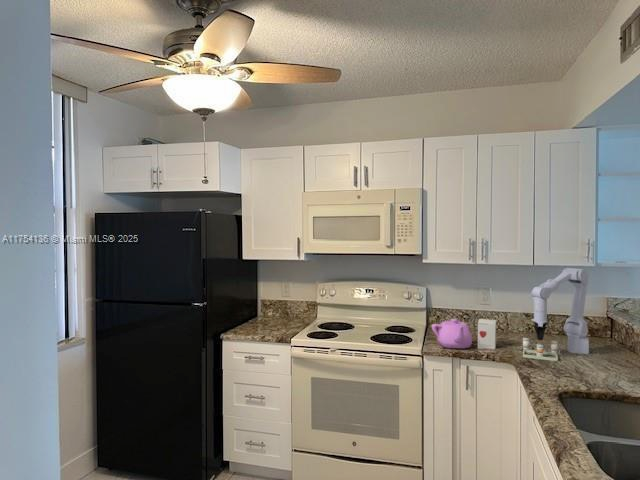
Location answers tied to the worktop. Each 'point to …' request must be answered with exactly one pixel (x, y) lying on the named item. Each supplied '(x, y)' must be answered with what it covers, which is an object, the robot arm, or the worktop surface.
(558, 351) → the fuse holder
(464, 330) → the teapot
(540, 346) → the marked fuse
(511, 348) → the worktop surface
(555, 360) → the tray
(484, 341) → the supplement box
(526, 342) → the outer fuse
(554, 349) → the cylinder
